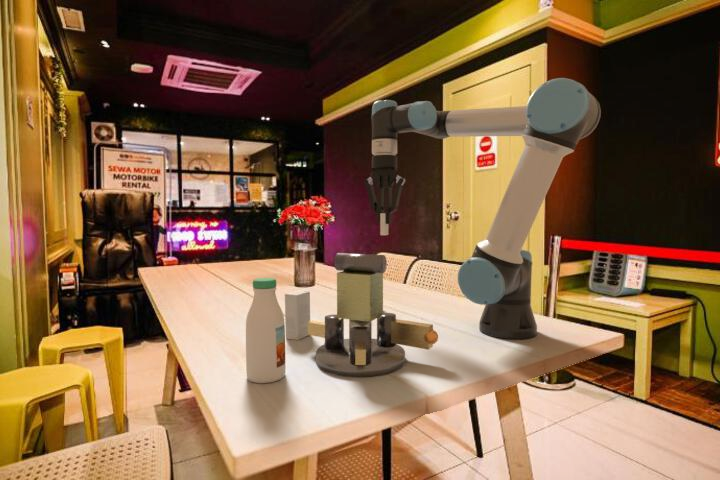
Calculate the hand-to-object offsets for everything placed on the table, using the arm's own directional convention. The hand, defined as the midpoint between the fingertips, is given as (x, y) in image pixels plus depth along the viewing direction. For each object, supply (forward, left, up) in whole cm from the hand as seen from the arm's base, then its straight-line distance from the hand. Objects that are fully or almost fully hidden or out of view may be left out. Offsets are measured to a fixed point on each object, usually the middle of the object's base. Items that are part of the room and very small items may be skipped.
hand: (384, 235), depth 127 cm
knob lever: (-17, +28, -24) cm, 40 cm away
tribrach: (-6, +35, -26) cm, 44 cm away
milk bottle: (+5, +50, -27) cm, 57 cm away
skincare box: (+15, +24, -27) cm, 39 cm away
